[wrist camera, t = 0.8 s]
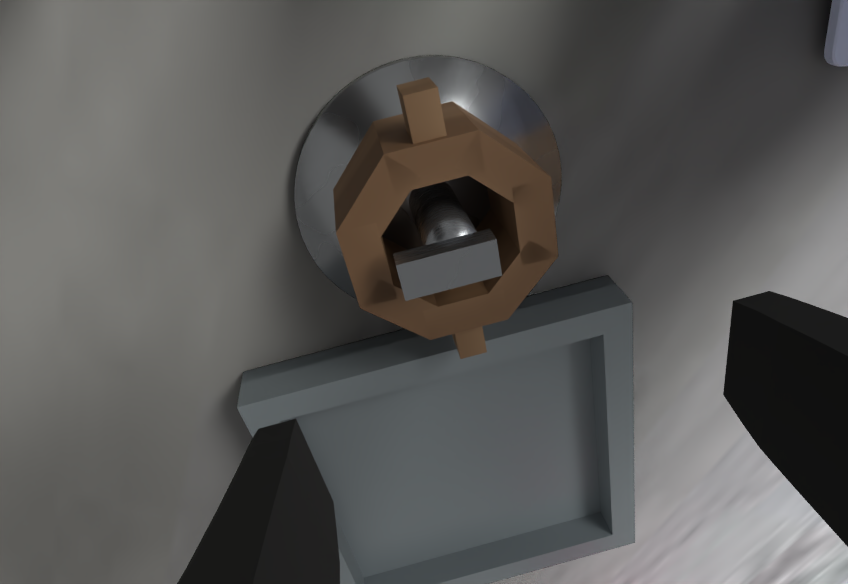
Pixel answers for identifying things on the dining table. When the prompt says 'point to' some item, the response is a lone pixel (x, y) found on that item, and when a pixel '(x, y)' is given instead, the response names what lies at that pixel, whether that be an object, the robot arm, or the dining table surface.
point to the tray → (470, 441)
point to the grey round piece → (428, 206)
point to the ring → (430, 164)
